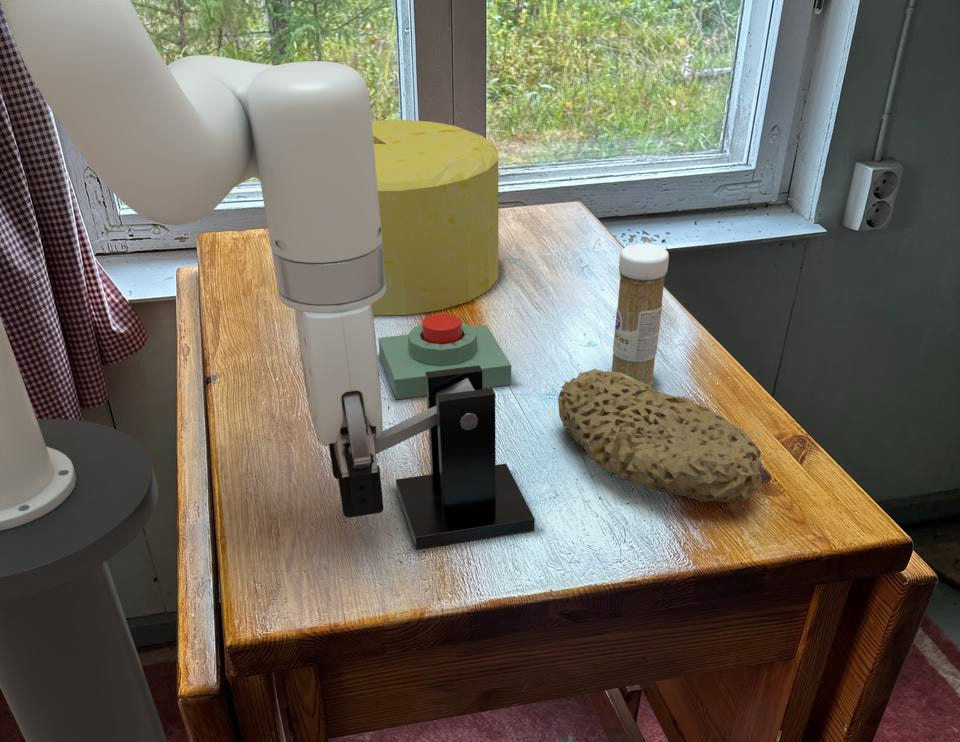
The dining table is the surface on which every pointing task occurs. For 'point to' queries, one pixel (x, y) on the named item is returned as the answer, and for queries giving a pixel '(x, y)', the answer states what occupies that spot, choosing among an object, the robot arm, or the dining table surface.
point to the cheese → (435, 215)
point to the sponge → (659, 438)
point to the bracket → (462, 471)
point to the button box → (441, 359)
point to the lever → (411, 423)
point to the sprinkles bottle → (639, 310)
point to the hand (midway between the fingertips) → (357, 491)
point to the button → (442, 329)
